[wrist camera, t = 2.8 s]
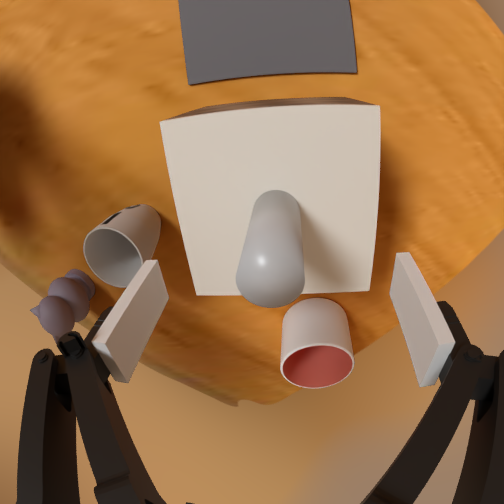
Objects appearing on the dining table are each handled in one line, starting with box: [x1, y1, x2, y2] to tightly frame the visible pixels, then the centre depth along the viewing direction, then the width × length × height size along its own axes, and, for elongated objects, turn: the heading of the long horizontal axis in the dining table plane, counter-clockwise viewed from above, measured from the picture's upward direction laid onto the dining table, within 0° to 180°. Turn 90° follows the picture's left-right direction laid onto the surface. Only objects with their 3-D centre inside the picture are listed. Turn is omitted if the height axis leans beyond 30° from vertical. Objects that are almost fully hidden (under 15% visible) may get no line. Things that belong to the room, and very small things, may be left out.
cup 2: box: [280, 298, 355, 388], centre depth 43 cm, size 10×10×10 cm
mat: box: [178, 0, 357, 85], centre depth 25 cm, size 19×18×1 cm
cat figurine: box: [30, 269, 95, 344], centre depth 44 cm, size 8×8×12 cm
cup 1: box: [83, 204, 161, 288], centre depth 37 cm, size 8×8×10 cm
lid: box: [160, 104, 380, 308], centre depth 21 cm, size 16×16×11 cm
